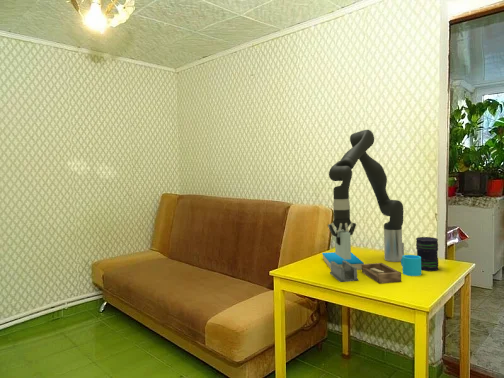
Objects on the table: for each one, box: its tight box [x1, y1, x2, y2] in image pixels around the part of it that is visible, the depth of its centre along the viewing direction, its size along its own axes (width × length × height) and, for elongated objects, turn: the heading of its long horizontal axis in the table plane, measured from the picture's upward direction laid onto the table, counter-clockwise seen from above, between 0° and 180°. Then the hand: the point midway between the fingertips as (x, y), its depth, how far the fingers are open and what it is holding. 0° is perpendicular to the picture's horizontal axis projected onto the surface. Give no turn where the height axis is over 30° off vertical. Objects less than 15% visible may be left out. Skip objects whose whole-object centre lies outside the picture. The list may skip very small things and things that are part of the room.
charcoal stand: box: [329, 260, 359, 283], centre depth 168 cm, size 8×14×6 cm, turn 7°
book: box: [321, 251, 365, 271], centre depth 192 cm, size 17×4×25 cm
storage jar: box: [415, 236, 439, 272], centre depth 176 cm, size 10×10×15 cm
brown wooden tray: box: [361, 262, 402, 284], centre depth 166 cm, size 10×18×4 cm, turn 7°
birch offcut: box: [370, 268, 384, 274], centre depth 166 cm, size 2×7×2 cm, turn 19°
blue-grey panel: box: [334, 228, 352, 259], centre depth 167 cm, size 3×12×12 cm, turn 7°
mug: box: [400, 254, 422, 277], centre depth 171 cm, size 12×8×8 cm
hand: (342, 244), depth 167 cm, fingers closed on blue-grey panel, 3 cm apart
